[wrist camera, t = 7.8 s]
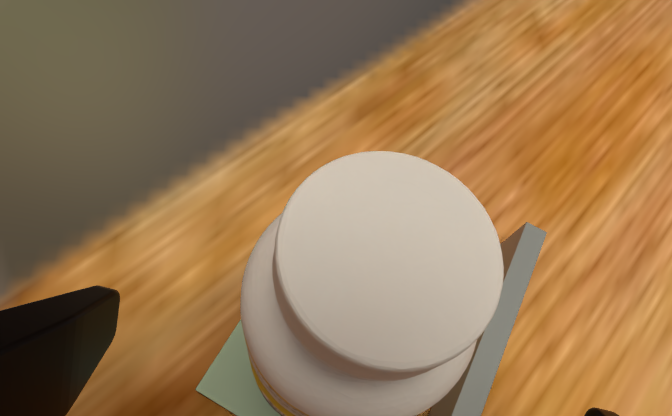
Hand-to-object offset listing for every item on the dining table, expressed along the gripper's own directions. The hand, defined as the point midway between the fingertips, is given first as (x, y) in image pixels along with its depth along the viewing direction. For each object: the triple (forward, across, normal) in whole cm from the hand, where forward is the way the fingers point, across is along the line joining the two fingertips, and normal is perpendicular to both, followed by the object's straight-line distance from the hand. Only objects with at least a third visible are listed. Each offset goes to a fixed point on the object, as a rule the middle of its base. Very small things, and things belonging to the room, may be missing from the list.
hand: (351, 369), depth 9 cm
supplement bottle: (+7, 0, +4) cm, 8 cm away
